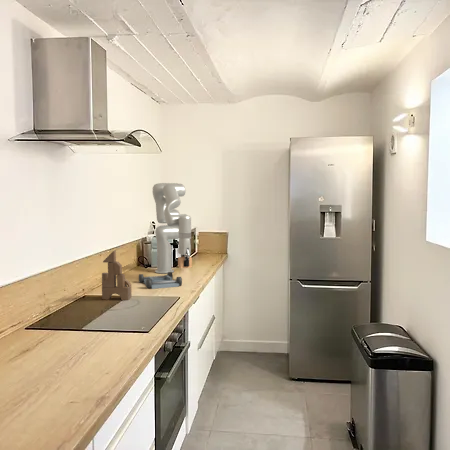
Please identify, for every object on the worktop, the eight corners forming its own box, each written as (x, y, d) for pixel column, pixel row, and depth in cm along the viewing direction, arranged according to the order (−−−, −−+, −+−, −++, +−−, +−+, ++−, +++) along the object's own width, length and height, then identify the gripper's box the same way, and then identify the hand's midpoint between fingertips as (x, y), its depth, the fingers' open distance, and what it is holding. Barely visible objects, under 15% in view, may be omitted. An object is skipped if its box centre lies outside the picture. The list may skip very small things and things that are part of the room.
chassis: (138, 281, 285) (138, 273, 285) (170, 279, 293) (170, 271, 293) (148, 289, 263) (148, 280, 263) (182, 286, 271) (182, 277, 271)
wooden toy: (132, 297, 244) (131, 249, 242) (128, 300, 237) (127, 251, 235) (103, 296, 246) (102, 249, 244) (98, 299, 239) (97, 250, 237)
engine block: (178, 266, 286) (178, 257, 285) (189, 266, 288) (189, 256, 288) (180, 268, 281) (180, 258, 280) (191, 267, 284) (191, 257, 283)
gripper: (174, 234, 289) (174, 263, 291) (183, 237, 274) (183, 268, 275) (186, 234, 292) (186, 263, 294) (195, 237, 277) (195, 267, 278)
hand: (184, 265), depth 285 cm, fingers closed on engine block, 5 cm apart
